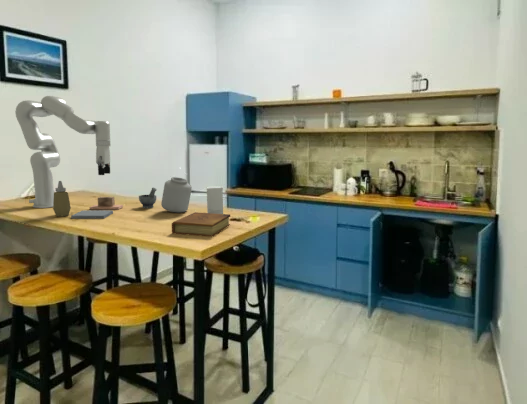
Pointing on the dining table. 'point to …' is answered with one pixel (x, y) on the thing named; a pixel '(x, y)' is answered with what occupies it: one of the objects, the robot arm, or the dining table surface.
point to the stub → (106, 203)
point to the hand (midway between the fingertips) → (104, 174)
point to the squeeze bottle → (61, 201)
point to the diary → (201, 224)
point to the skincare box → (215, 200)
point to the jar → (176, 195)
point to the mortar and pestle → (148, 199)
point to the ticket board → (92, 214)
